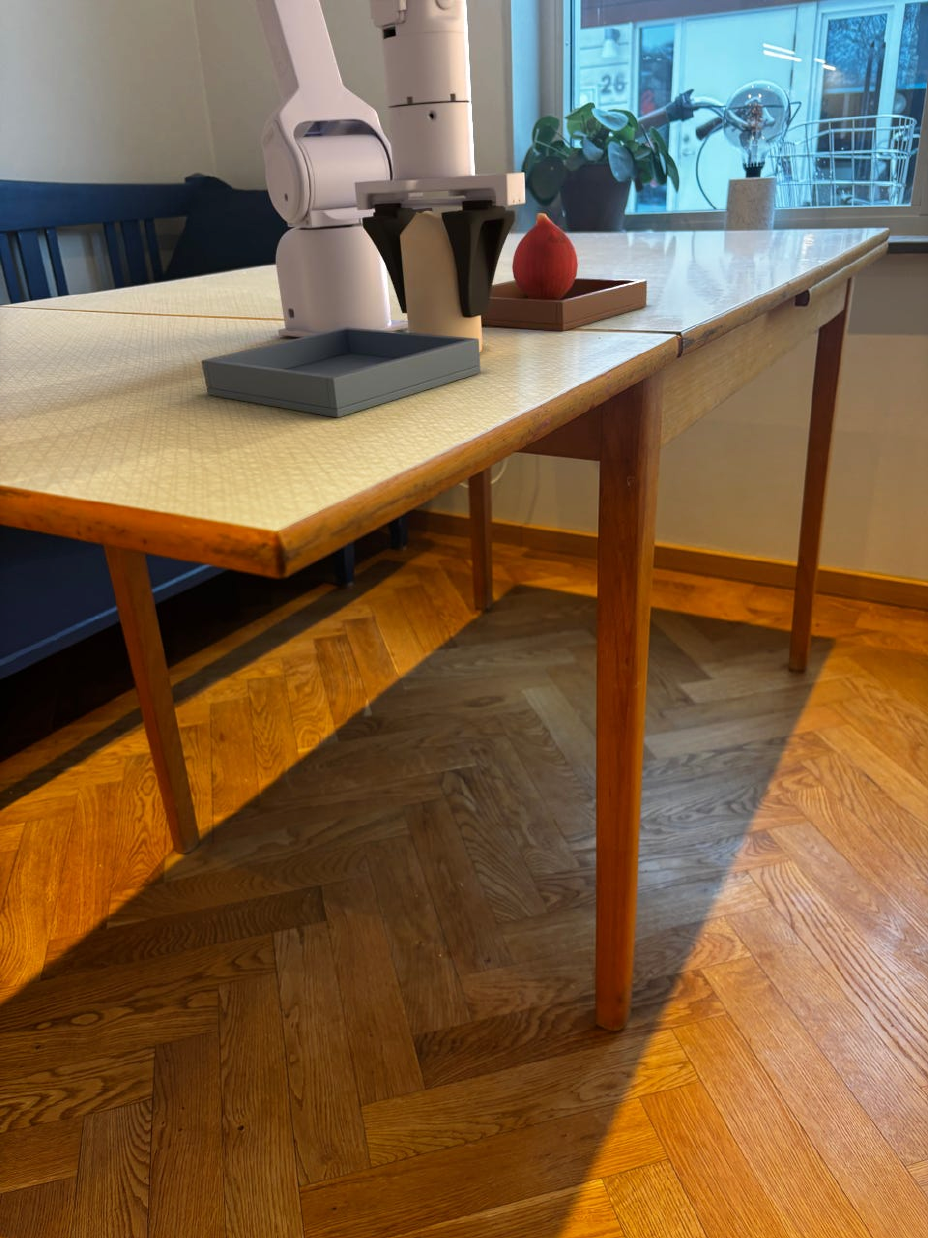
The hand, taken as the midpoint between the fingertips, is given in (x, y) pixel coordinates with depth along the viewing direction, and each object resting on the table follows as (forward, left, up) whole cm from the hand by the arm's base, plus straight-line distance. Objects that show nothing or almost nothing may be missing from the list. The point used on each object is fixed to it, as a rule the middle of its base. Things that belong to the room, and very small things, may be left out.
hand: (443, 313), depth 68 cm
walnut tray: (-4, +18, -3) cm, 18 cm away
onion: (-4, +18, -3) cm, 18 cm away
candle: (0, 0, -3) cm, 3 cm away
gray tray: (0, -11, -3) cm, 11 cm away
